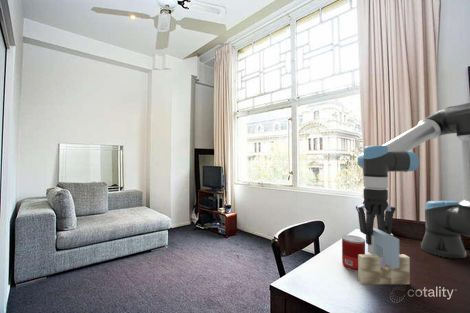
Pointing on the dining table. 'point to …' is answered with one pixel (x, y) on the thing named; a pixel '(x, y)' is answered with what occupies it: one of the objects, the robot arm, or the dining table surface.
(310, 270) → the dining table surface
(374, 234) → the pale blue plate
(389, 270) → the birch plate
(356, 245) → the canned food
